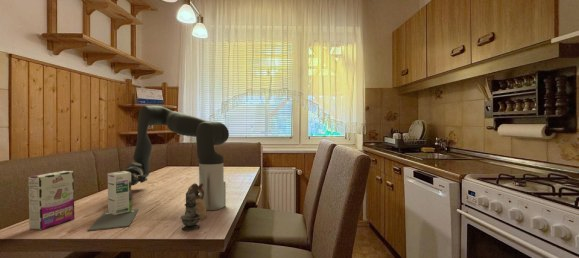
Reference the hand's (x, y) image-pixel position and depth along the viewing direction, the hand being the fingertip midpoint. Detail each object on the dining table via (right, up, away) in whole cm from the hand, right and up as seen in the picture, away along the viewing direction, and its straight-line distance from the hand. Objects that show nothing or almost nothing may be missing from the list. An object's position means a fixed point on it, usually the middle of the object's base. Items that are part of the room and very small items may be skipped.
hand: (125, 182), depth 115 cm
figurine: (+33, -10, -15) cm, 37 cm away
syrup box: (+3, -9, -10) cm, 14 cm away
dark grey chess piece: (+34, -10, -25) cm, 44 cm away
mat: (+6, -10, -16) cm, 20 cm away
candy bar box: (-12, -10, -21) cm, 26 cm away
